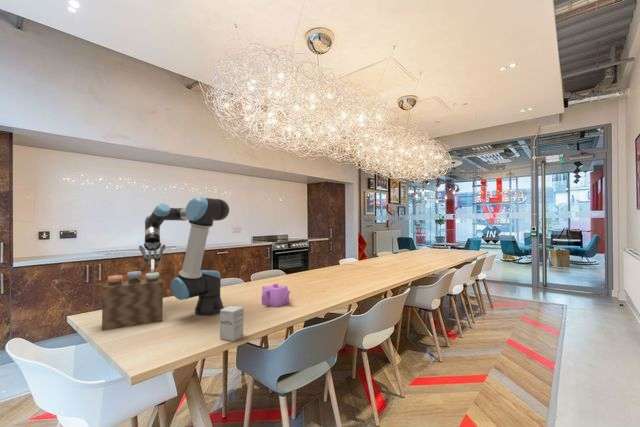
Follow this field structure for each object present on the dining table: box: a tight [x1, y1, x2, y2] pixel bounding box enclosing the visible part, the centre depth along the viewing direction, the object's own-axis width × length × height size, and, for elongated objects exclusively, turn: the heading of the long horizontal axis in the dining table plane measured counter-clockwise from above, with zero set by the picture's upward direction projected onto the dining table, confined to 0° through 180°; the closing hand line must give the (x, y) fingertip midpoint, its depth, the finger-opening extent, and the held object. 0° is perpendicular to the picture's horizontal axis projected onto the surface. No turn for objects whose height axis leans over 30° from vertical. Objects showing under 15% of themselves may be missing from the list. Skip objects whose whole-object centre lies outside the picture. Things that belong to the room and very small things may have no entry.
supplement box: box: [219, 305, 245, 342], centre depth 129 cm, size 7×7×13 cm
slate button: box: [126, 270, 142, 280], centre depth 150 cm, size 6×6×4 cm
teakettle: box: [261, 283, 291, 308], centre depth 183 cm, size 17×17×12 cm
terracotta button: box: [107, 274, 124, 283], centre depth 145 cm, size 6×6×4 cm
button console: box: [101, 278, 164, 331], centre depth 149 cm, size 25×10×22 cm, turn 121°
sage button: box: [145, 271, 160, 280], centre depth 154 cm, size 6×6×4 cm
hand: (152, 270), depth 154 cm, fingers closed
